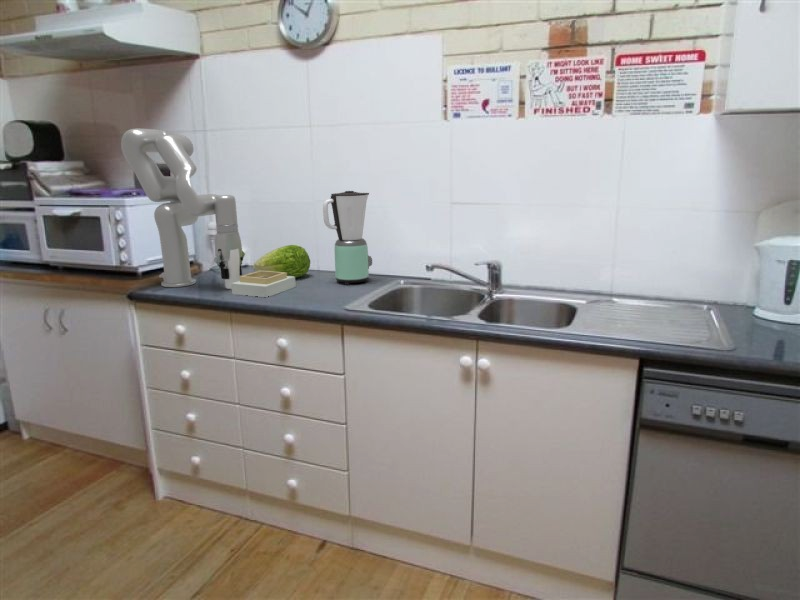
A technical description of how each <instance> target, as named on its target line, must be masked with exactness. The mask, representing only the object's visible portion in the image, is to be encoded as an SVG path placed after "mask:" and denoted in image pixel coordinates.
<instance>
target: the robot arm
mask: <svg viewBox="0 0 800 600" xmlns="http://www.w3.org/2000/svg"><path fill="white" fill-rule="evenodd" d="M120 142H121V143H120V147H121V152H122V154H123V156H124V158H125V160H126V162H127V163H128V165H129V166H130V167H131V169H132V170H133V172H134V174H135V176H136V178H137V180H138V182H139V184H140V186H141V188H142V190H143V191H144V193H145V195H146V197H147V198H148V199H149V200H150V201H151V202H155V203H161V204H160V205H158V206H157V207H156V208H155V209H154V213H153V214H154V215H153V217H154V221H155V222H154V223H156V224H155V225H156V227H157V231H158V234H159V242H160V243H159V244H160V248H161V249H160V250H161V257H162V264H163V272H161V273H160V274H159V275H158V278H160V279H163V281H161V283H160V284H161V287H164V288H180V287H187V286H192V285H195V284H196V282H197V281H196V278H193V277H192V273H191V266H190V263H191V262H190V254H189V247H188V246H189V245H188V239H187V235H186V233H185V231H184V229H183V227H186V226H187V227H188V226H191V225H193V224H195V223H197V221H198V219H199V217H206V216H213V215H214V216H215V224H216V234H215V237H214V238H215V239H214V251H215V253H214V255H215V257H214V259H213V261H214V263H216V265H217V266H218V268H219V269H220V275H221V277H220V279H223V280H224V279H229V269H228V268H227V265H228V261H229V260H230V250H234V249H238V248H239V256H240V276H243V274H242V273H243V272H242V265H243V260H244V257H245V255H246V253H245V252H244V251H243V248H242V247H243V246H242V240H241V236H240V232H239V225H238V215H237V205H236V203H237V202H236V198H235V196H234V195H231V194H222V195H221V194H219V195H218V194H213V193H209V194H198V193H197V191H195V189H194V188H193V186H192V182H191V178H192V177H193V176H194V175H195V174H196V172H197V166H196V164H195V163H194V161H193V160H192V158H191V156H192V155H193V154H194V150H195V149H194V144H193V141H192V140H191V139H190V138H188V136H186V135H183V134H178V133H174V132H171V131H168V130H167V131H166V130H163V129H162V130H161V129H153V128H139V127H138V128H131V129H128V130H126V131H125V132H124V133H123V135H122V137H121V141H120ZM147 153H158V154H159V156H160V157H161V158H162V160H163V162H164V163H165V164H166V166H167V168H168V169H169V171H170V173H172V175H173V176H172V175H171V176H165V175H163V173H162V171H161V170H160V168H159V166H158V164H157V163H156V162H155V160H154V159H153V158H151V156H150V155H148V154H147ZM223 257H224V260H222V258H223ZM223 262H225V263H224V264H223Z"/></svg>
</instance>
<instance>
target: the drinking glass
mask: <svg viewBox="0 0 800 600" xmlns="http://www.w3.org/2000/svg"><path fill="white" fill-rule="evenodd" d="M222 260H224V257H223V258H222ZM224 263H225V262H223V264H224ZM227 268H228V269H229V279H223V280H224V287H225V289H227V290H232V287H231V283H234V282H237V281H240V256H239V248H238V249H234V250H230V260H229V261H228V265H227Z"/></svg>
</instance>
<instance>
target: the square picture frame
mask: <svg viewBox="0 0 800 600" xmlns="http://www.w3.org/2000/svg"><path fill="white" fill-rule="evenodd" d="M296 285H297V284H296V278H295V277H294V276H287V273H285V272H273V271H253V272H249V273H246V274H244V275H243V274H242V275H241V276H240V281H237V282H234V283H231V287H232V289H231V294H232V295H237V296H245V295H248V296H247V297H255V296H258V298H264V297H267V298H269V297H272V296H274V295H277V294H279V293H283V292H285V291H288V290H291V289H294V288H296V287H297V286H296ZM268 296H269V297H268Z"/></svg>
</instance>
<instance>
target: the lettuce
mask: <svg viewBox="0 0 800 600" xmlns="http://www.w3.org/2000/svg"><path fill="white" fill-rule="evenodd" d="M252 267H253V269H254V270H255V272H257V271H273V272H285V273H287V276H294V277H295V279H299V278H300V277H301V276H304V275H306V274H307V273H308V272H309V269H310V267H311V259H310V255H309V253H308V252H307V251H306V249H305V248H303V247H302V246H299V245H296V244H289V245H285V246H281V247H278V248H276V249H273V250H271V251H270V252H267V253H266V254H264V255H262V256H261V257H260V258H258V259H257V260H256V261H255V262H254V263H253V266H252Z"/></svg>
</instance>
